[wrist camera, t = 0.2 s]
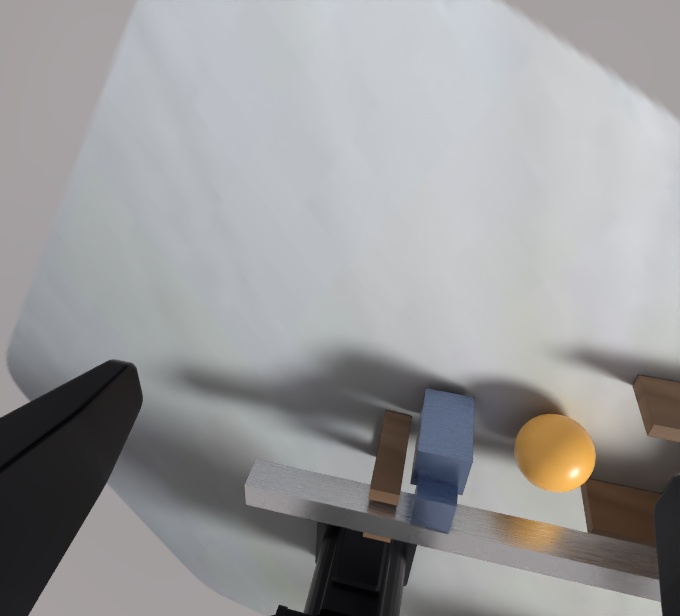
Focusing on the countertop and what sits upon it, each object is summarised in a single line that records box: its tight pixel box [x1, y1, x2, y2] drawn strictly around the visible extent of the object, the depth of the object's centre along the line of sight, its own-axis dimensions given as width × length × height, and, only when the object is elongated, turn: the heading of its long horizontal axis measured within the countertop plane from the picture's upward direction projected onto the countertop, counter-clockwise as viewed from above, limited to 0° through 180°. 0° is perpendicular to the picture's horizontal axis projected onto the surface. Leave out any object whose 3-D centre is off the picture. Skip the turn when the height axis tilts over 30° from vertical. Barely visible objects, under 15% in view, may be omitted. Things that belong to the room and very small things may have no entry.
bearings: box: [363, 411, 412, 543], centre depth 27 cm, size 4×22×5 cm, turn 87°
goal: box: [581, 375, 680, 548], centre depth 26 cm, size 8×6×3 cm
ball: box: [514, 414, 596, 492], centre depth 26 cm, size 4×4×4 cm
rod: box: [244, 388, 661, 602], centre depth 25 cm, size 6×32×9 cm, turn 87°
